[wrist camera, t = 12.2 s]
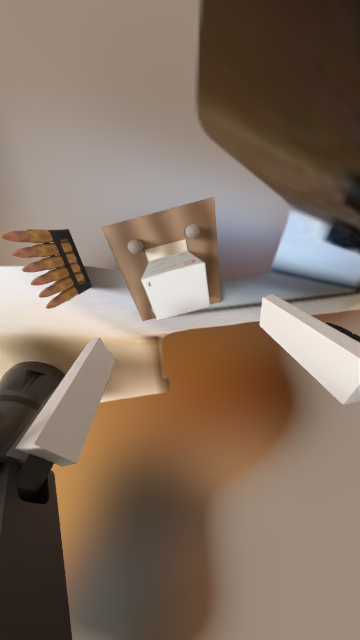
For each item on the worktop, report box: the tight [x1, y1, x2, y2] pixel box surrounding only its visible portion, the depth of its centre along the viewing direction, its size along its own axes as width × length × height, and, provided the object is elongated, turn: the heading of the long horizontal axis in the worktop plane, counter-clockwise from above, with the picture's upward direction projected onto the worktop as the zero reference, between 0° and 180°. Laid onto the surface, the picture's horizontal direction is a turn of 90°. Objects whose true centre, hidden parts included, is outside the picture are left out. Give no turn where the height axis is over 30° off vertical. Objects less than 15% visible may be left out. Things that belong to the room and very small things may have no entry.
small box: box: [141, 251, 210, 320], centre depth 24 cm, size 8×6×13 cm
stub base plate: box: [102, 197, 221, 321], centre depth 28 cm, size 20×20×6 cm
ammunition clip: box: [1, 229, 91, 309], centre depth 23 cm, size 11×2×12 cm, turn 3°
